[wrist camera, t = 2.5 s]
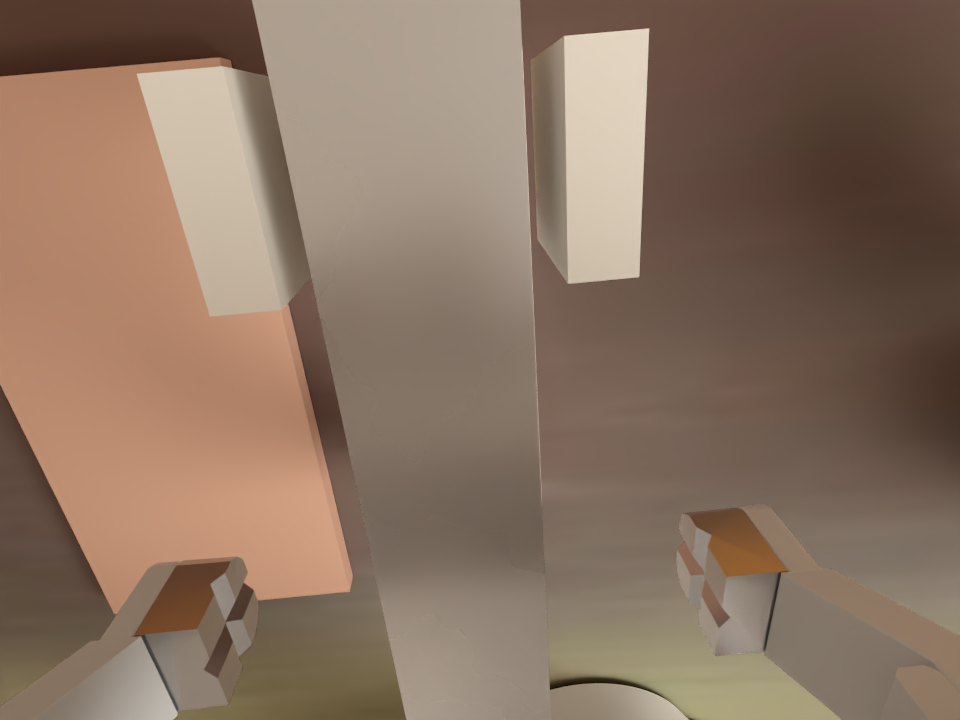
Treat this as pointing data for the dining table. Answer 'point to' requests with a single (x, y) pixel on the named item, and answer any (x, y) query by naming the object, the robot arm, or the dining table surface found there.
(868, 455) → the dining table surface
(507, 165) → the aluminium rail
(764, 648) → the robot arm
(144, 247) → the terracotta board
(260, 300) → the cradle stand
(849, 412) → the dining table surface
